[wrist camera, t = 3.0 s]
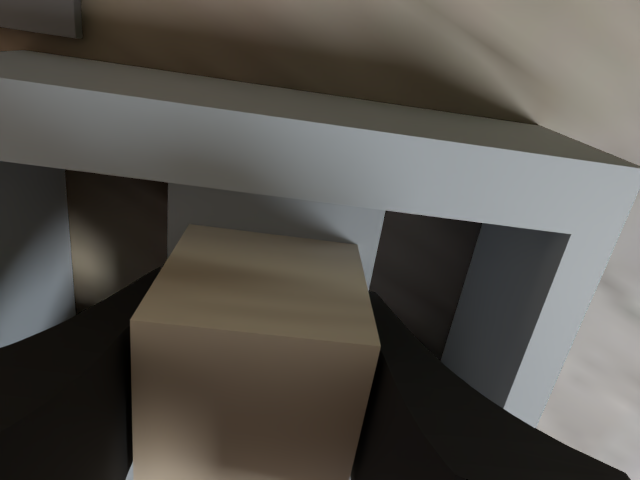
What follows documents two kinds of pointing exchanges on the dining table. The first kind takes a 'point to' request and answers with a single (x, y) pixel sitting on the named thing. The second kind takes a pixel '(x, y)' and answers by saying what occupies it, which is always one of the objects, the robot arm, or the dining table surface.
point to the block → (252, 359)
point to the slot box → (316, 196)
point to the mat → (43, 16)
